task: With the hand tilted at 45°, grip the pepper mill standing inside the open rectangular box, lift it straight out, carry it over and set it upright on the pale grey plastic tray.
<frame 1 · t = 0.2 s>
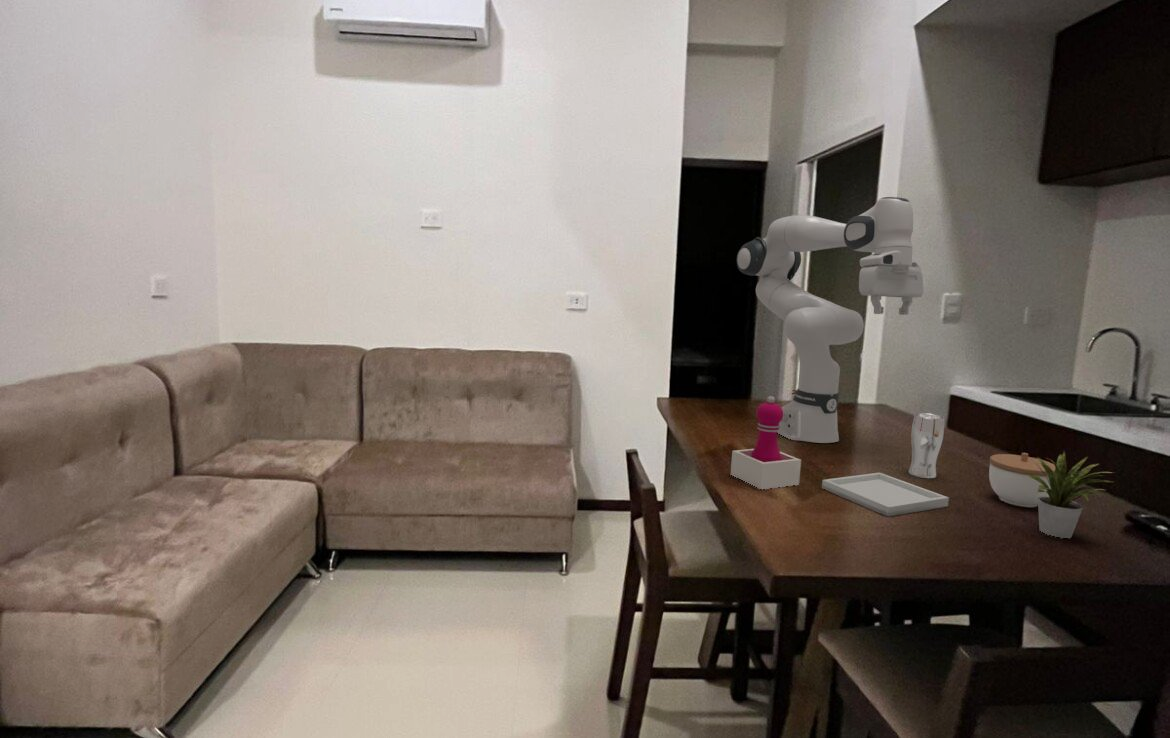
hand: (891, 314, 167), 39 cm above the table, tool pointing down, fingers open, 8 cm apart
pepper mill: (764, 480, 152), resting in open rectangular box
beer glass: (922, 475, 161), on the table
open rectangular box: (764, 480, 152), on the table
lidded bowl: (1017, 502, 144), on the table
house plant: (1054, 536, 125), on the table
tray: (882, 497, 143), on the table
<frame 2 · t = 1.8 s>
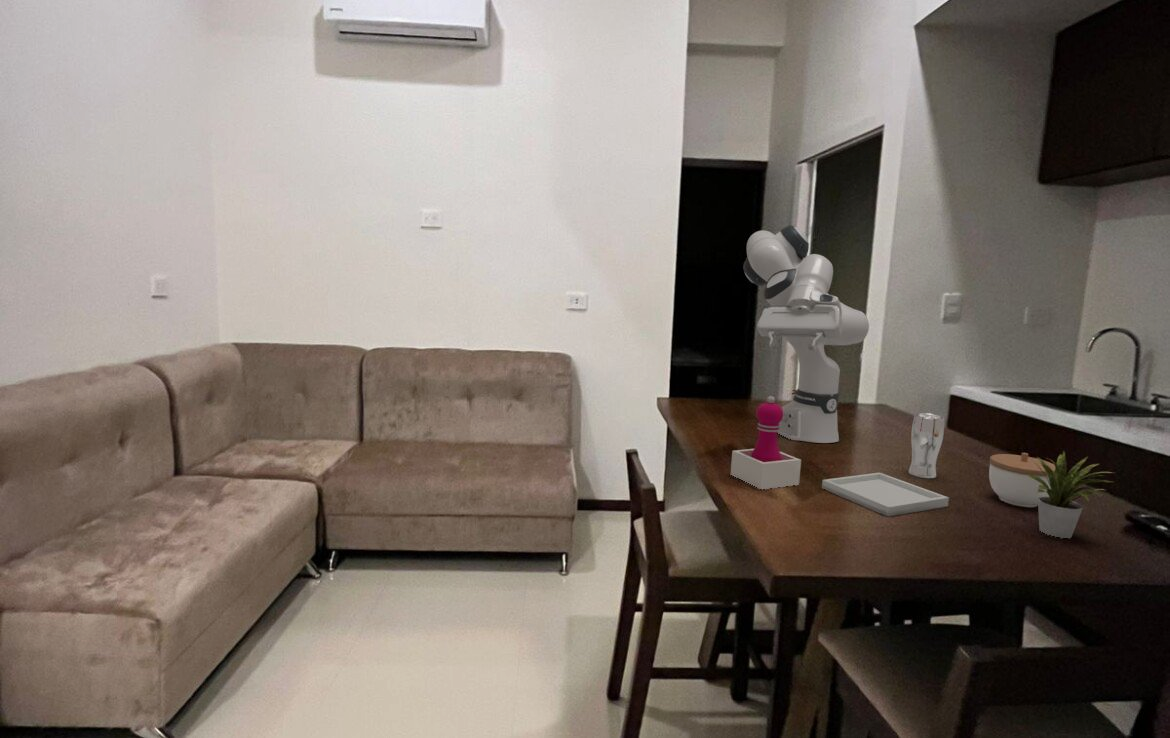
hand: (791, 347, 157), 30 cm above the table, tool tilted 45°, fingers open, 8 cm apart
nothing on the table moved.
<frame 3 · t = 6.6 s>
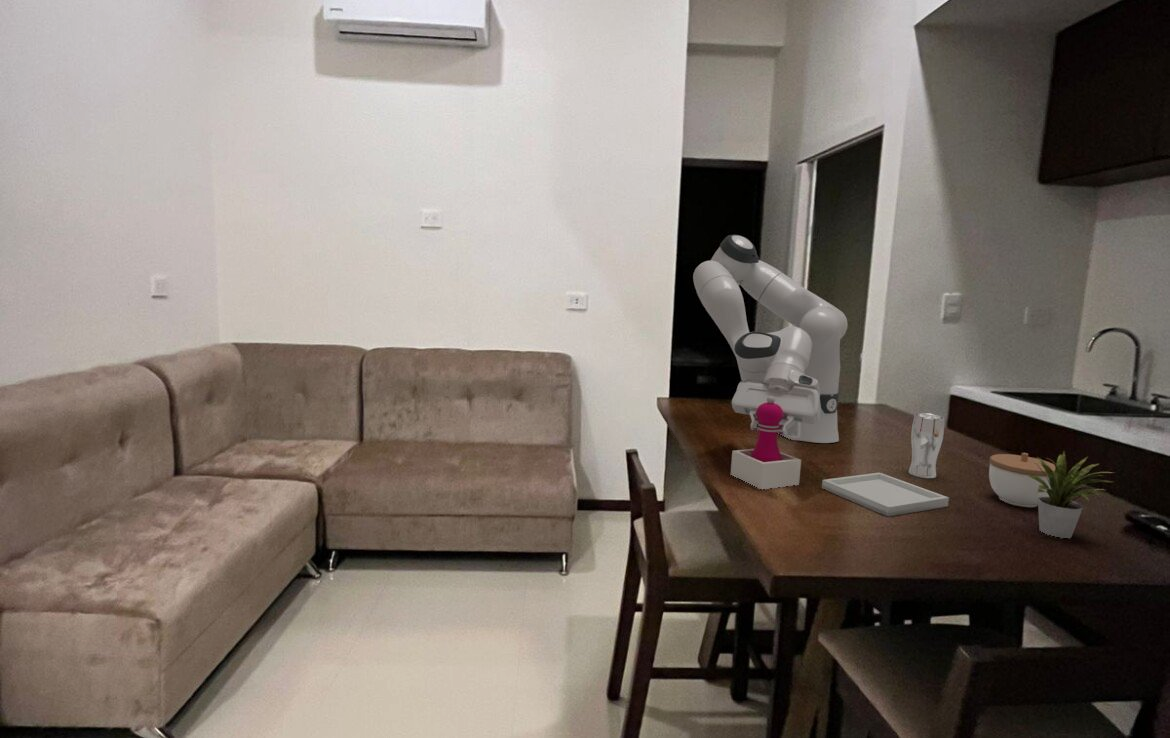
hand: (767, 431, 149), 12 cm above the table, tool tilted 45°, fingers closed on pepper mill, 5 cm apart
pepper mill: (764, 480, 152), resting in open rectangular box, touching gripper
everything else where it was.
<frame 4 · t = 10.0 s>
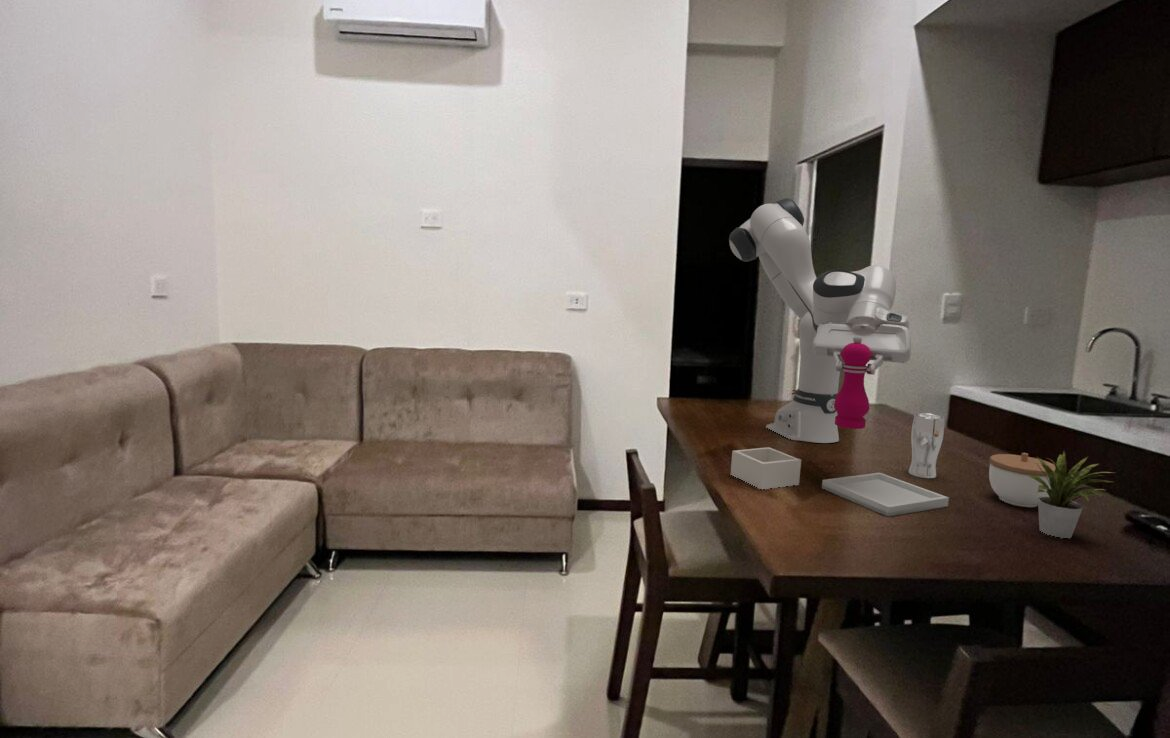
hand: (854, 371, 141), 27 cm above the table, tool tilted 45°, fingers closed on pepper mill, 5 cm apart
pepper mill: (849, 426, 143), point 15 cm above the table, touching gripper
everything else where it was.
when the fingers open (14 cm above the table, at t = 13.7 s): pepper mill moves 2 cm, resting on tray.
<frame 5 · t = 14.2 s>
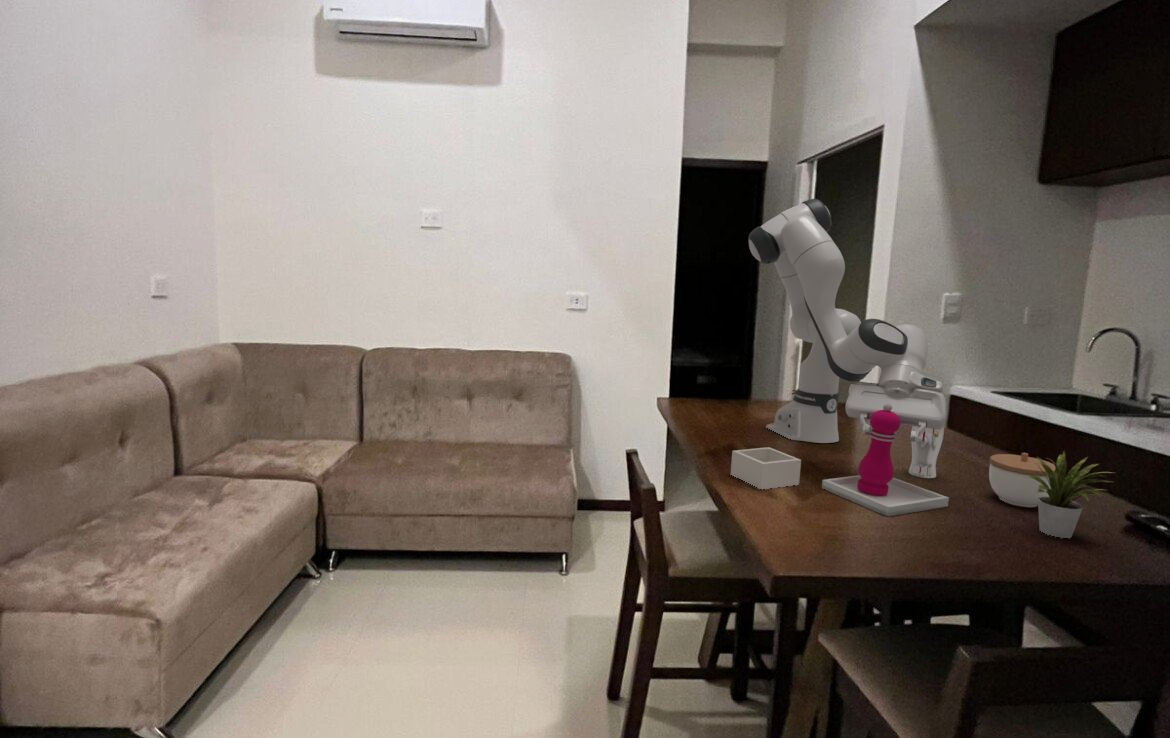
hand: (889, 436, 140), 14 cm above the table, tool tilted 45°, fingers open, 8 cm apart
pepper mill: (871, 491, 144), point 1 cm above the table, touching gripper, tray
everything else where it was.
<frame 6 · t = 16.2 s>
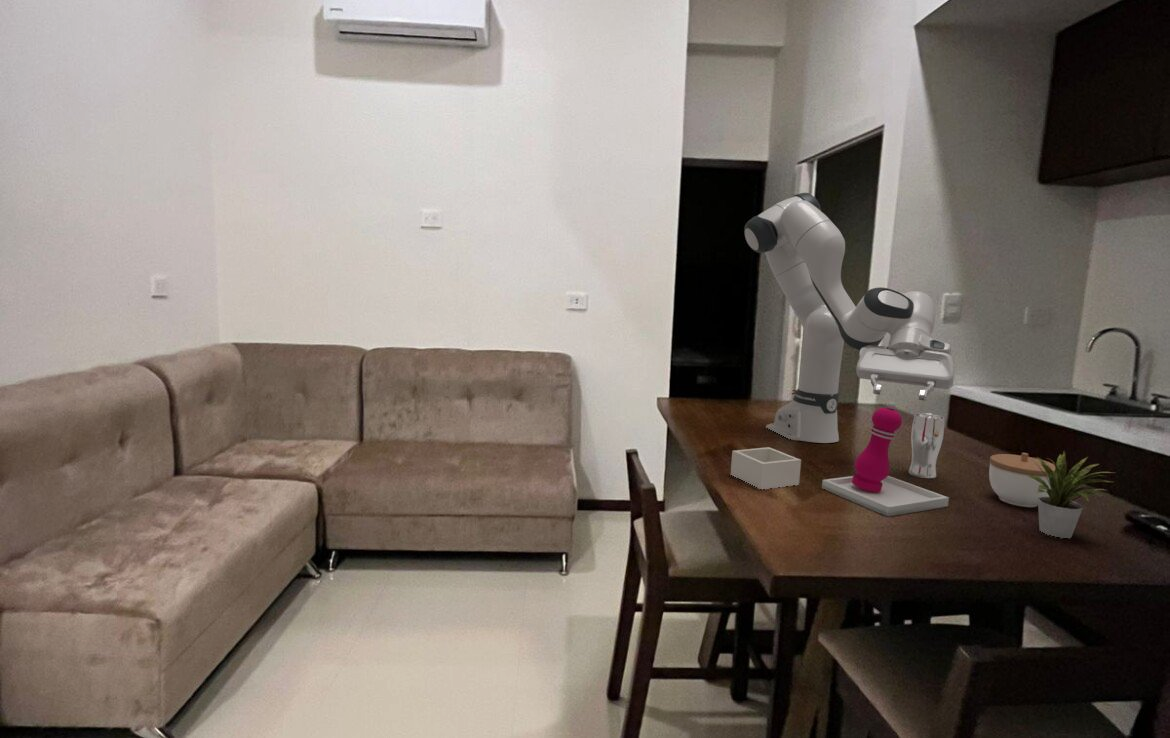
hand: (899, 395, 146), 22 cm above the table, tool tilted 45°, fingers open, 8 cm apart
pepper mill: (865, 487, 145), point 1 cm above the table, touching tray
everything else where it was.
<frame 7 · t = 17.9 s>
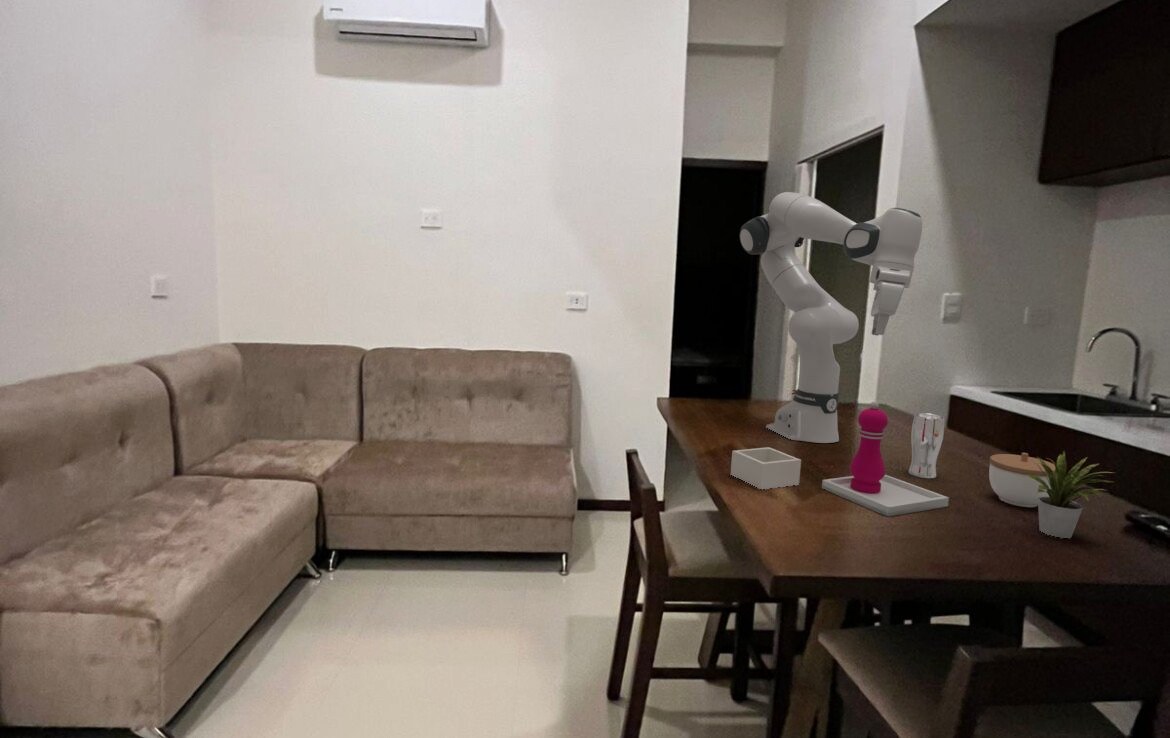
hand: (877, 334, 155), 34 cm above the table, tool pointing down, fingers open, 8 cm apart
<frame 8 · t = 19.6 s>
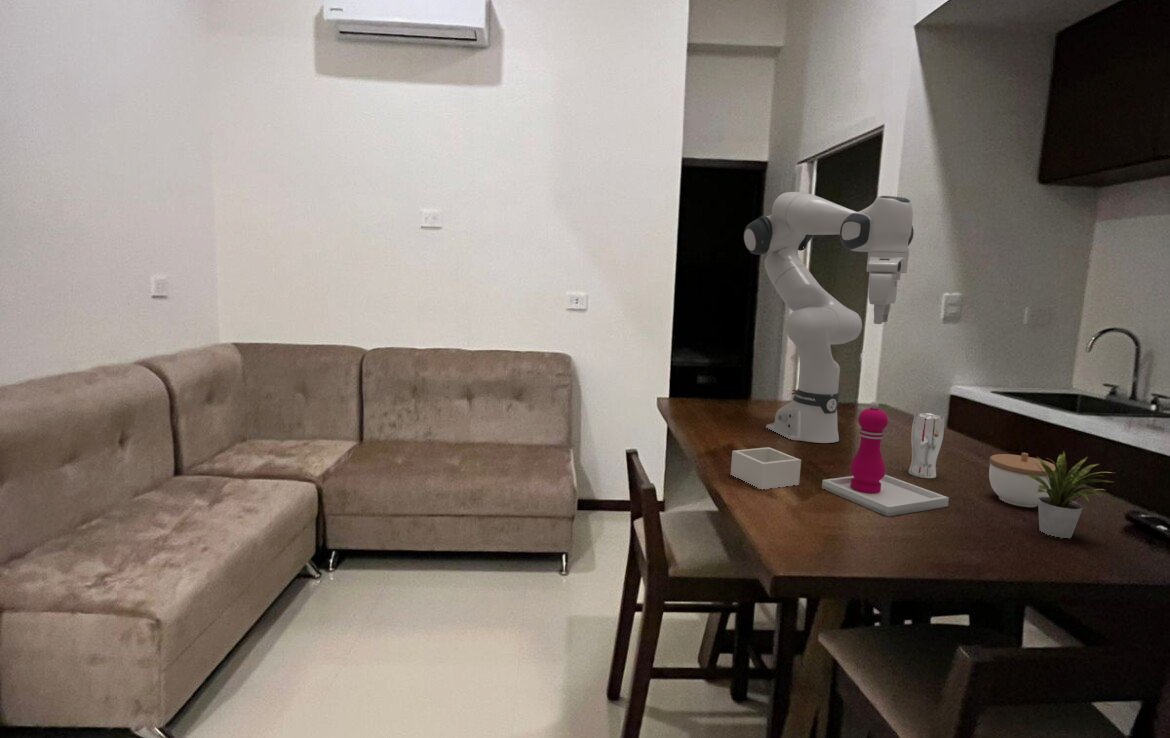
hand: (880, 323, 157), 37 cm above the table, tool pointing down, fingers open, 8 cm apart
at the end: pepper mill inside the target area on the tray (4.0 cm from its centre), point 0.6 cm above the tray's base; pepper mill tilted 0°; the gripper is holding nothing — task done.
